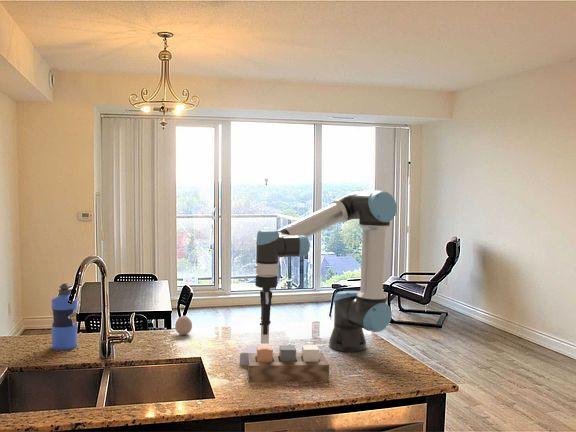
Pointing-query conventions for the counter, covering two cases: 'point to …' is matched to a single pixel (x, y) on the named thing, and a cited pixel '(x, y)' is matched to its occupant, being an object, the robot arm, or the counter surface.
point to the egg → (183, 325)
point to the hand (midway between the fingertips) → (264, 342)
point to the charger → (245, 354)
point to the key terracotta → (264, 353)
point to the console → (287, 369)
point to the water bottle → (64, 321)
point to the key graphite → (287, 353)
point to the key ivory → (310, 353)
